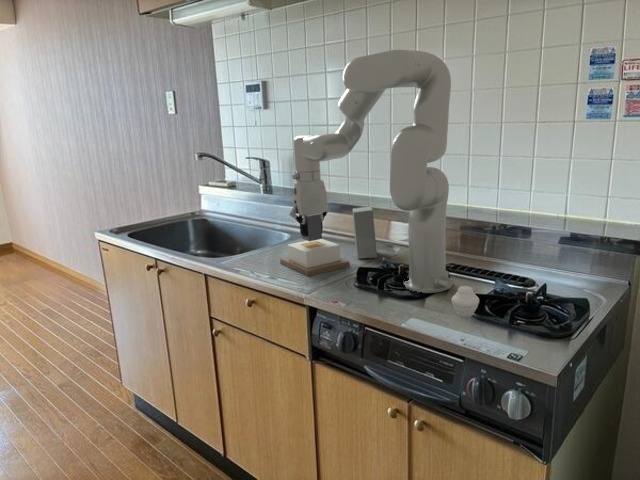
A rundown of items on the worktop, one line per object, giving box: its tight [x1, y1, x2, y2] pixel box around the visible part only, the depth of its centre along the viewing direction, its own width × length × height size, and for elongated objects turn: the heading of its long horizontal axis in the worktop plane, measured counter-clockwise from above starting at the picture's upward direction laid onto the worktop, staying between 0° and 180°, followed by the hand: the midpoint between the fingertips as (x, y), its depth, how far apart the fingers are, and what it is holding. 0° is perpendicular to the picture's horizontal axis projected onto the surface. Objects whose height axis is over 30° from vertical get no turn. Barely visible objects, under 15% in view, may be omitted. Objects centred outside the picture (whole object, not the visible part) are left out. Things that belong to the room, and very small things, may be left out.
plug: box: [301, 213, 323, 241], centre depth 159 cm, size 5×5×9 cm
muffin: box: [450, 285, 480, 318], centre depth 116 cm, size 6×6×7 cm
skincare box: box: [352, 206, 378, 260], centre depth 166 cm, size 8×7×16 cm
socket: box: [279, 238, 351, 277], centre depth 161 cm, size 18×15×6 cm
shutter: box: [302, 242, 324, 248], centre depth 161 cm, size 6×6×1 cm
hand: (311, 233), depth 160 cm, fingers closed on plug, 4 cm apart
